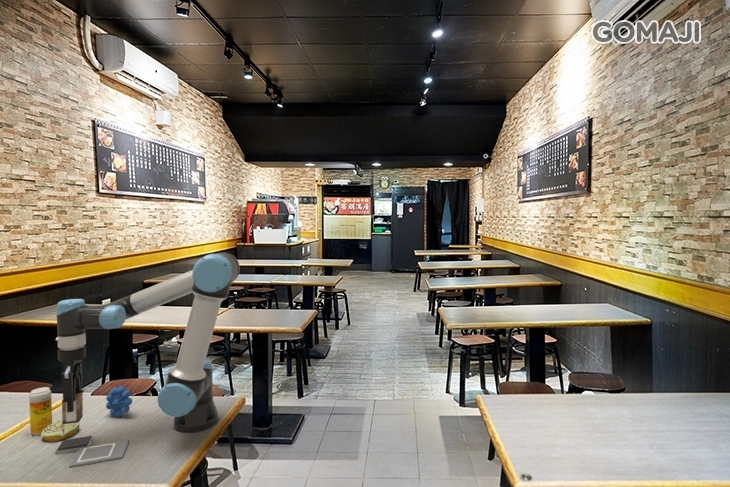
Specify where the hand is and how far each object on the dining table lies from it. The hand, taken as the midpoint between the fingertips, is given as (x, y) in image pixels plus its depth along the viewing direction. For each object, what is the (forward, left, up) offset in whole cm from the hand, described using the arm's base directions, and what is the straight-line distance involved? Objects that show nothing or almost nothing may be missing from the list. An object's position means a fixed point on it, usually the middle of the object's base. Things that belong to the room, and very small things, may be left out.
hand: (73, 417), depth 137 cm
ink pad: (0, 0, -10) cm, 10 cm away
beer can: (+14, -16, -10) cm, 23 cm away
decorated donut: (+7, -11, -10) cm, 16 cm away
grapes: (-10, -20, -10) cm, 24 cm away
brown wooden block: (0, 0, -1) cm, 1 cm away
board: (-9, +9, -10) cm, 16 cm away
